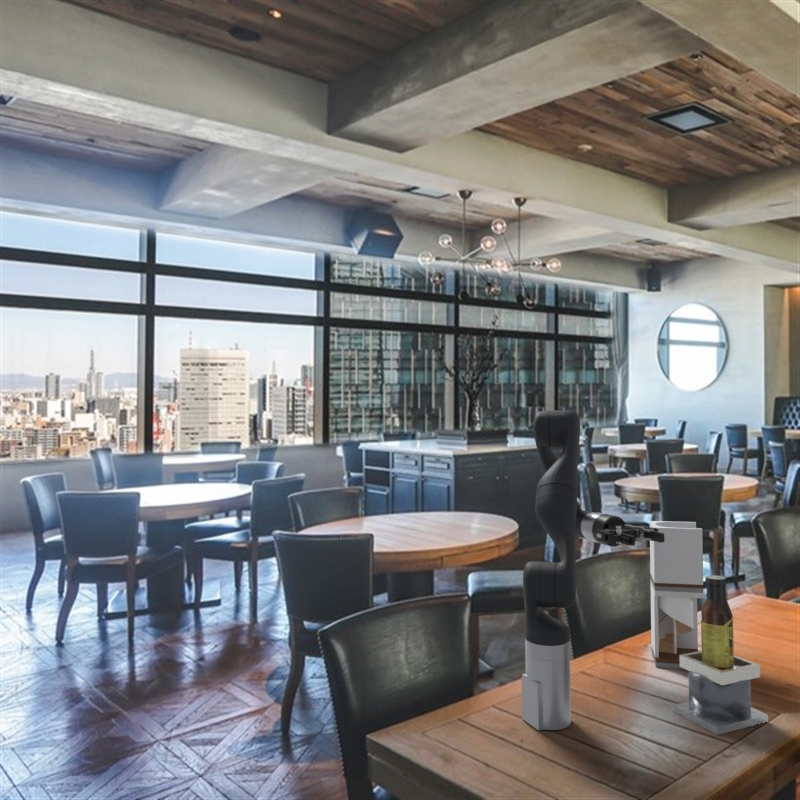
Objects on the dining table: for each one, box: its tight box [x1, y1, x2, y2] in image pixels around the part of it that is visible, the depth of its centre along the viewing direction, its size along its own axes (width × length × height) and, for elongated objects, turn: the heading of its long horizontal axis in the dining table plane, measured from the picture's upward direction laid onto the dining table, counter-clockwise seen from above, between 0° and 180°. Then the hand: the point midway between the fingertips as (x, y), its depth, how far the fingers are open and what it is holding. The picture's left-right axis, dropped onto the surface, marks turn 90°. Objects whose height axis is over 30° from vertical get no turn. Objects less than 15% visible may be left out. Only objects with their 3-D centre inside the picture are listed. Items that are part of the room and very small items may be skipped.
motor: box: [672, 650, 769, 736], centre depth 153 cm, size 14×12×12 cm
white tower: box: [649, 520, 704, 670], centre depth 186 cm, size 11×11×35 cm
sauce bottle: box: [700, 574, 735, 670], centre depth 153 cm, size 7×6×20 cm
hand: (648, 539), depth 166 cm, fingers open, 8 cm apart
